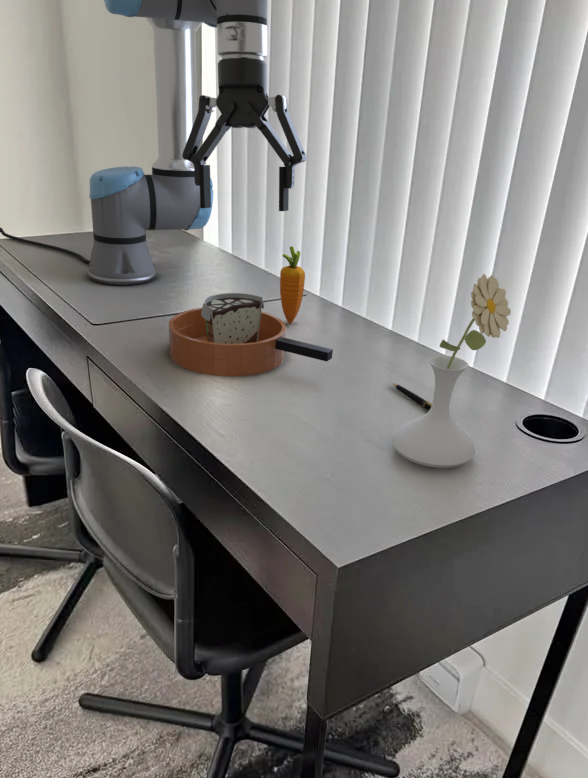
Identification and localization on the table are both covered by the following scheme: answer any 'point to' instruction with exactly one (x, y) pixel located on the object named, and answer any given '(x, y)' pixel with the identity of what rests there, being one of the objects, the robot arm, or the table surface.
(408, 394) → the fountain pen
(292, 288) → the carrot
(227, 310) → the food container
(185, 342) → the pan
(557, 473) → the table surface
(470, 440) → the flower in vase
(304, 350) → the pan handle
